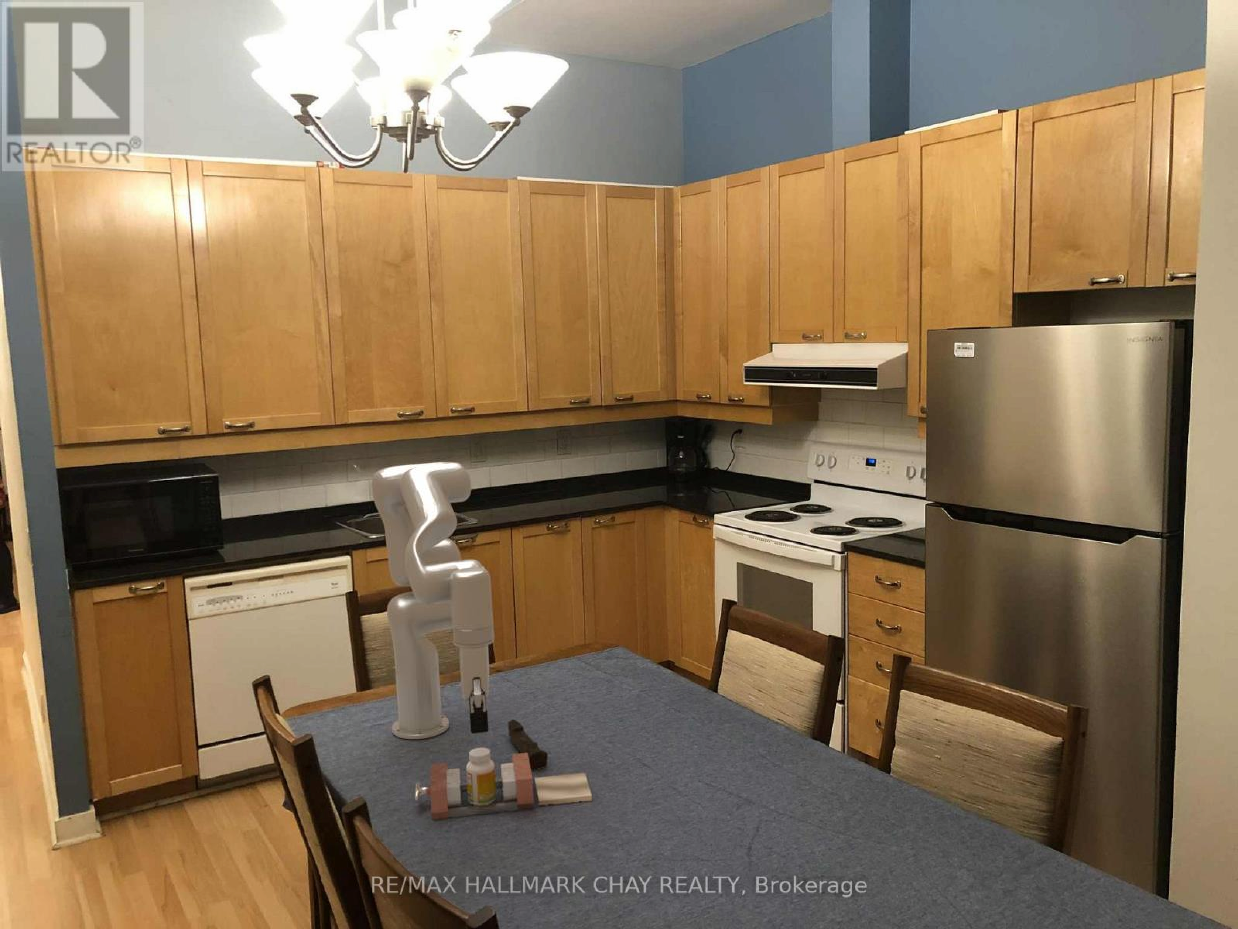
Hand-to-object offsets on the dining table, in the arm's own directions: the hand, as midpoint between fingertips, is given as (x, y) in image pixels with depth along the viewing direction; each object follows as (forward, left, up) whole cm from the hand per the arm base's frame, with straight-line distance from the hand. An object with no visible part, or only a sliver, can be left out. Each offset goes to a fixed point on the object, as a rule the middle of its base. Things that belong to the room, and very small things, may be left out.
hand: (478, 722), depth 192 cm
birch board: (-1, +15, -16) cm, 22 cm away
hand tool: (-20, +9, -16) cm, 27 cm away
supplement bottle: (-1, 0, -16) cm, 16 cm away
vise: (-1, -2, -16) cm, 16 cm away
